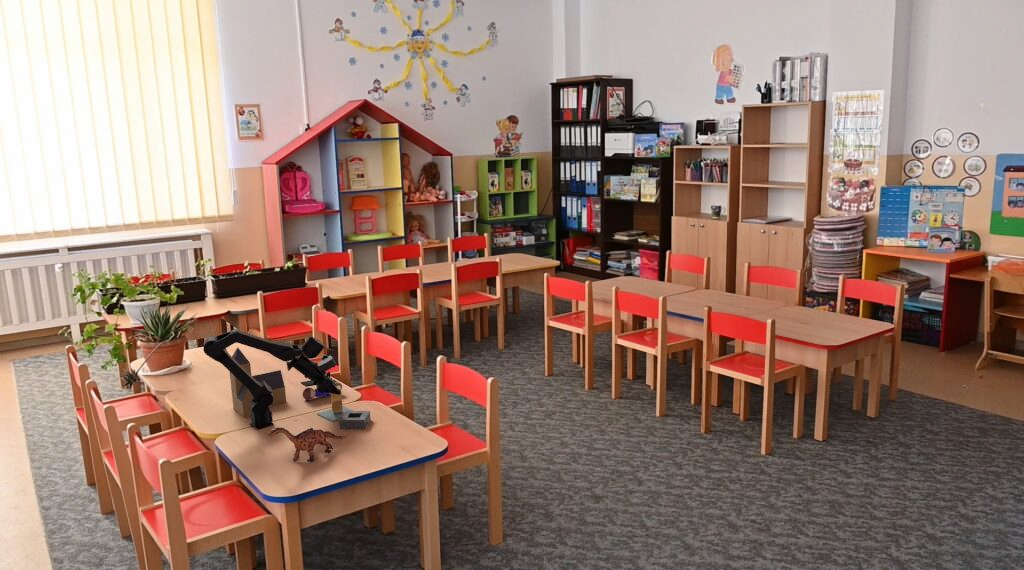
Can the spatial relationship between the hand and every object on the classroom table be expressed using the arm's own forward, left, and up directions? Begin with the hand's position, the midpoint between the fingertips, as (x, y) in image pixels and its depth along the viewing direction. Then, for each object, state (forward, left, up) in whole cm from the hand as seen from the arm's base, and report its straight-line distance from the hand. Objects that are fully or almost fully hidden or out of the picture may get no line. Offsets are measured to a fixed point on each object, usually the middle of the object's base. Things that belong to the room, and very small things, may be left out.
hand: (339, 392), depth 296 cm
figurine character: (+5, +23, -9) cm, 25 cm away
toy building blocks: (-17, +29, -9) cm, 35 cm away
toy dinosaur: (-29, -28, -9) cm, 41 cm away
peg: (-1, +1, -7) cm, 7 cm away
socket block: (-2, -13, -9) cm, 16 cm away
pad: (-1, +1, -8) cm, 9 cm away
